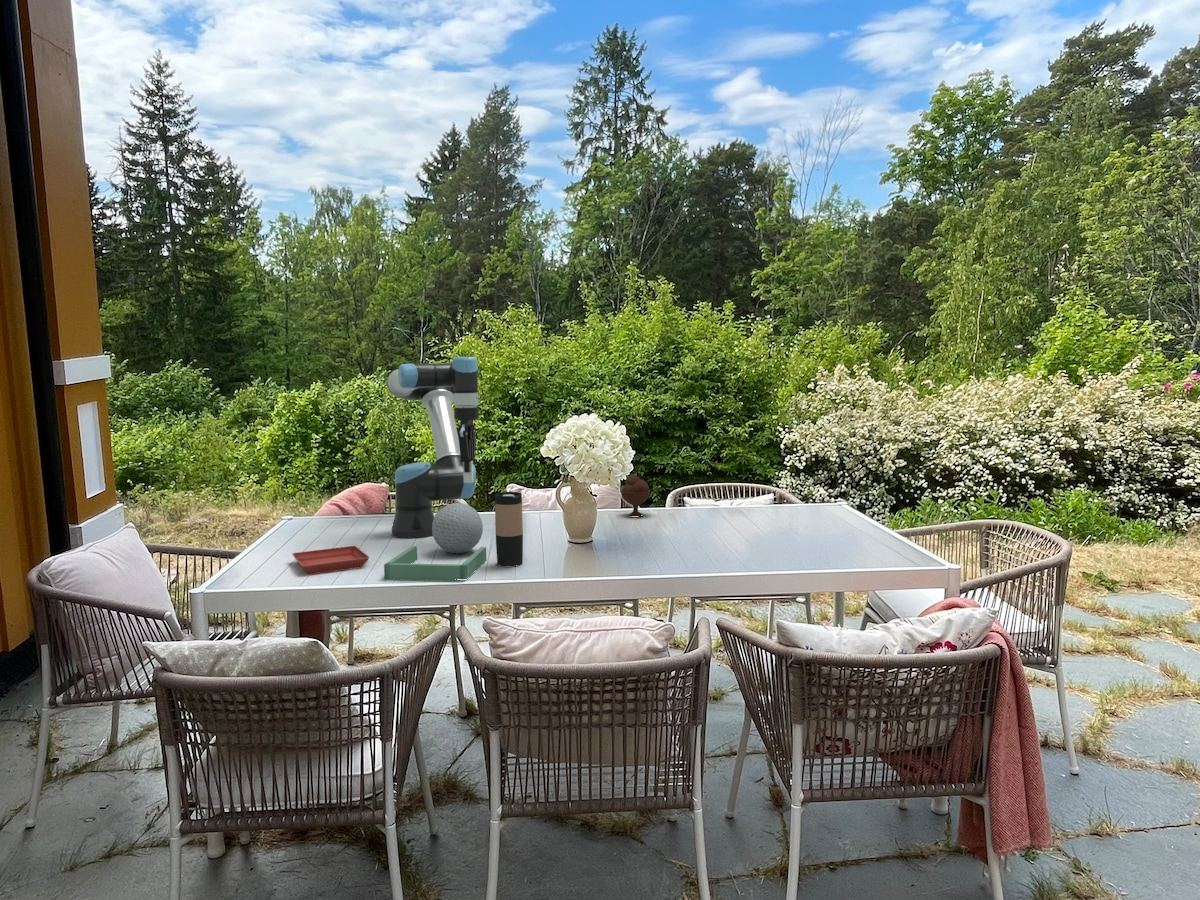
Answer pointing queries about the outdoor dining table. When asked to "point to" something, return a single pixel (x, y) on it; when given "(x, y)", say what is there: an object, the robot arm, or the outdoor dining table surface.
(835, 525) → the outdoor dining table surface
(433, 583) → the outdoor dining table surface
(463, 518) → the decorative ball
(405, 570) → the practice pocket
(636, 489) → the ice cream bowl
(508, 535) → the travel mug
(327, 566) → the plant saucer
